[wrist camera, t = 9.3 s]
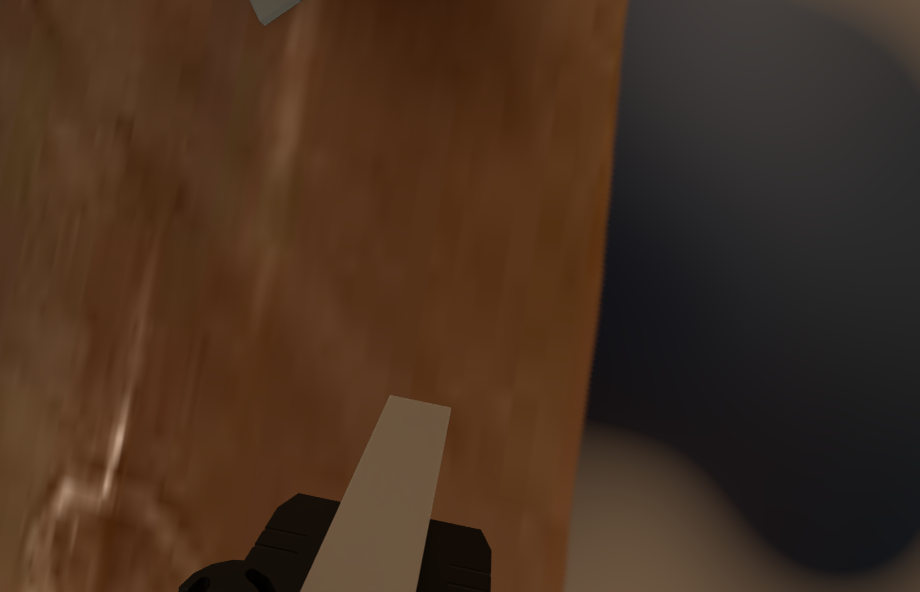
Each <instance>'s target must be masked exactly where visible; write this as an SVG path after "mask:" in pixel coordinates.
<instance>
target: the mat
mask: <svg viewBox="0 0 920 592" xmlns="http://www.w3.org/2000/svg"><path fill="white" fill-rule="evenodd" d="M300 1H302V0H250V2H251V4H252V6H253V8H254V11H255V13H256V15H257V17H258V19H259V21H260V22H261V23H262V24H263V25H267V24H268V23H270V22H271V21H273V20H274V19H276V18H277V17H278V16H280V15H281V14H283V13H284V12H286V11H287V10H289V9H290V8H292V7H293V6H294V5H296V4H297V3H299V2H300Z"/></svg>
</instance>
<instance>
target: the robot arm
mask: <svg viewBox="0 0 920 592" xmlns="http://www.w3.org/2000/svg"><path fill="white" fill-rule="evenodd" d="M450 412H451V408H450V407H445V406H440V405H435V404H430V403H426V402H421V401H416V400H411V399H406V398H401V397H397V396H392V395H390V396H389V399H388V401H387V403H386V405H385V407H384V410H383V412H382V414H381V416H380V418H379V420H378V423H377V425H376V427H375V429H374V431H373V434H372V436H371V438H370V440H369V442H368V445H367V447H366V449H365V451H364V453H363V455H362V458H361V460H360V462H359V464H358V466H357V469H356V471H355V473H354V475H353V477H352V479H351V482H350V484H349V486H348V488H347V490H346V493H345V495H344V497H343V499H342V501H341V502H338V501H333V500H329V499H324V498H319V497H314V496H310V495H305V494H300V493H298V494H297V495H295V496H294V497H292V498H291V499H289V500H288V501H286V502H285V503H283V504H282V505H280V506H279V507H278V508H277V509H276V511H275V512H274V514H273V516H272V517H271V519H270V520H269V522H268V524H267V525H266V527H265V530H264V531H263V532H262V533H261V535H260V536H259V538H258V539H257V541H256V543H255V546H254V547H252V549H251V551H250V552H249V554H248V555H247V557H246V558H245V560H244V561H243V560H230V561H225V562H220V563H215V564H211V565H209V566H207V567H205V568H203V569H201V570H199V571H197V572H195V573H193V574H192V575H191V576H190V577H189V578H188V579H187V580H186V581H185V582H184V583H183V584H182V585H181V586H180V587H179V592H490V591H491V577H490V575H491V549H490V547H489V545H488V543H487V541H486V539H485V537H484V535H483V533H482V531H481V530H480V529H475V528H470V527H466V526H461V525H456V524H451V523H447V522H442V521H437V520H432V519H430V516H431V510H432V505H433V500H434V495H435V490H436V484H437V479H438V474H439V469H440V464H441V458H442V453H443V448H444V443H445V438H446V433H447V427H448V422H449V417H450Z"/></svg>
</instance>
